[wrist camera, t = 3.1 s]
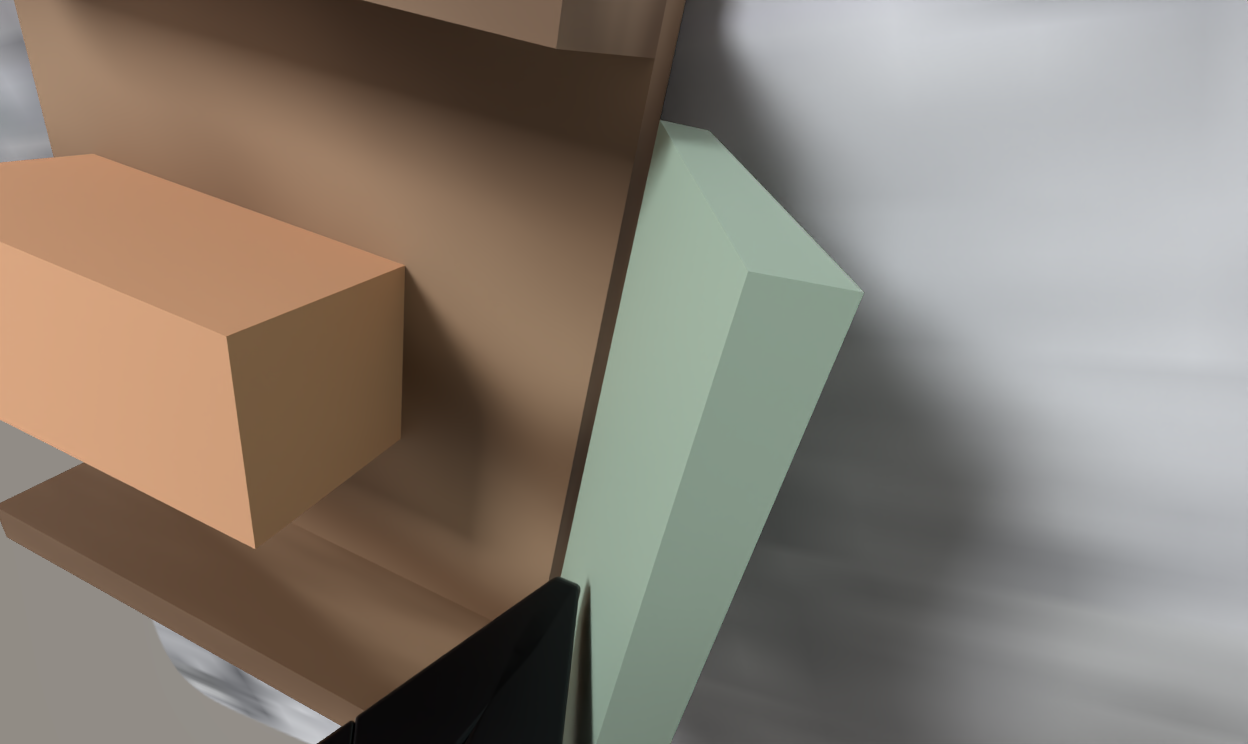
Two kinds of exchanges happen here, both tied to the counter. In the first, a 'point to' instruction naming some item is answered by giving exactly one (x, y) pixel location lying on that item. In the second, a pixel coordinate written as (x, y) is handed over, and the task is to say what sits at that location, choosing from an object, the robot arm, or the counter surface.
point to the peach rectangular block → (193, 342)
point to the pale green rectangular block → (691, 430)
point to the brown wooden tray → (433, 296)
